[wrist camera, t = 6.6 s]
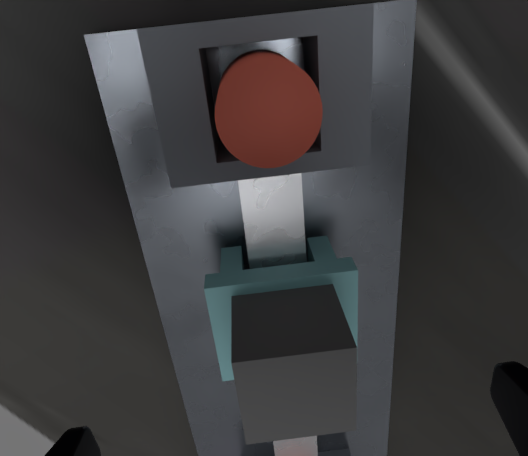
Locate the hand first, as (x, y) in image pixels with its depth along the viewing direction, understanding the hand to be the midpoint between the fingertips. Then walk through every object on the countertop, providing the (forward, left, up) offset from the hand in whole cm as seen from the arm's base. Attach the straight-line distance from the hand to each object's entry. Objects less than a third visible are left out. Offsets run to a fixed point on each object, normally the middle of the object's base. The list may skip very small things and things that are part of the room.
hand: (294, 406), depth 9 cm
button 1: (0, -5, -9) cm, 10 cm away
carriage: (0, +4, -10) cm, 11 cm away
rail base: (0, +7, -11) cm, 14 cm away
